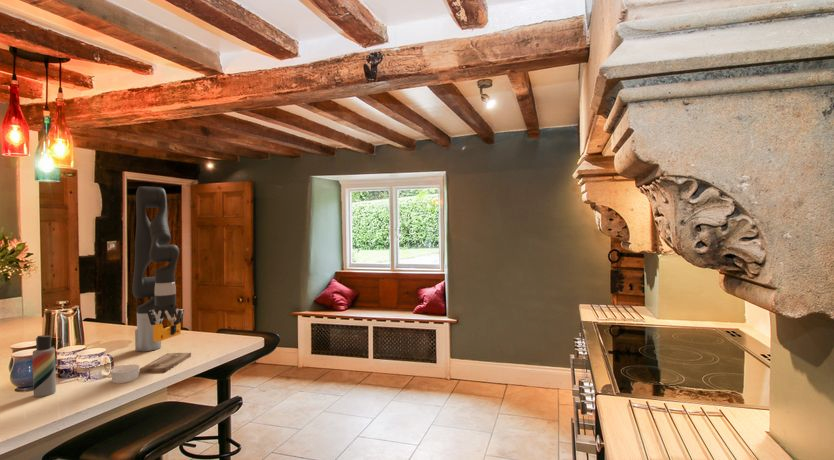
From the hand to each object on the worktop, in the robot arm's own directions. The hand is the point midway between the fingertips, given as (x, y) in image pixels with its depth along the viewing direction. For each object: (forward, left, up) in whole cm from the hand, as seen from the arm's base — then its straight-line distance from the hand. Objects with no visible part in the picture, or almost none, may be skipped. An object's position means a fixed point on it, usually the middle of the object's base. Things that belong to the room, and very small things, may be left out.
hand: (166, 334), depth 174 cm
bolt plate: (0, 0, -12) cm, 12 cm away
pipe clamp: (0, 0, -1) cm, 1 cm away
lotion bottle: (-25, -29, -12) cm, 40 cm away
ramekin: (-6, -17, -12) cm, 22 cm away
